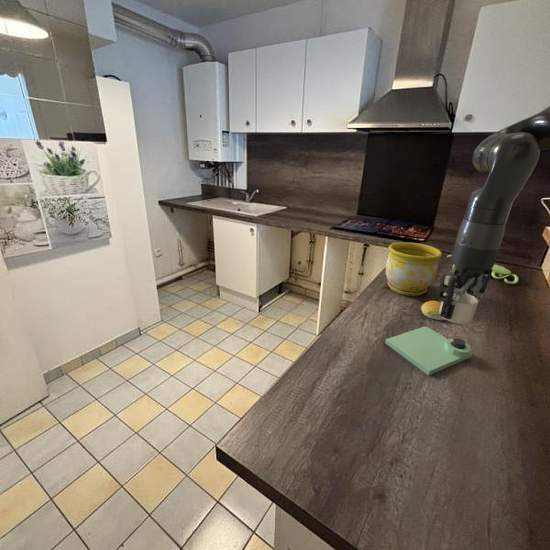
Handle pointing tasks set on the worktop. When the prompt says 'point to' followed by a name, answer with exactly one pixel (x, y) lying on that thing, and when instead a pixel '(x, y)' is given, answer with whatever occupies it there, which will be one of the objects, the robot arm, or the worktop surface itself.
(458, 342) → the power button
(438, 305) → the bread roll
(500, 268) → the figurine
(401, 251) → the flowerpot
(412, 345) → the scale
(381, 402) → the worktop surface
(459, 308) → the bowl
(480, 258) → the robot arm
